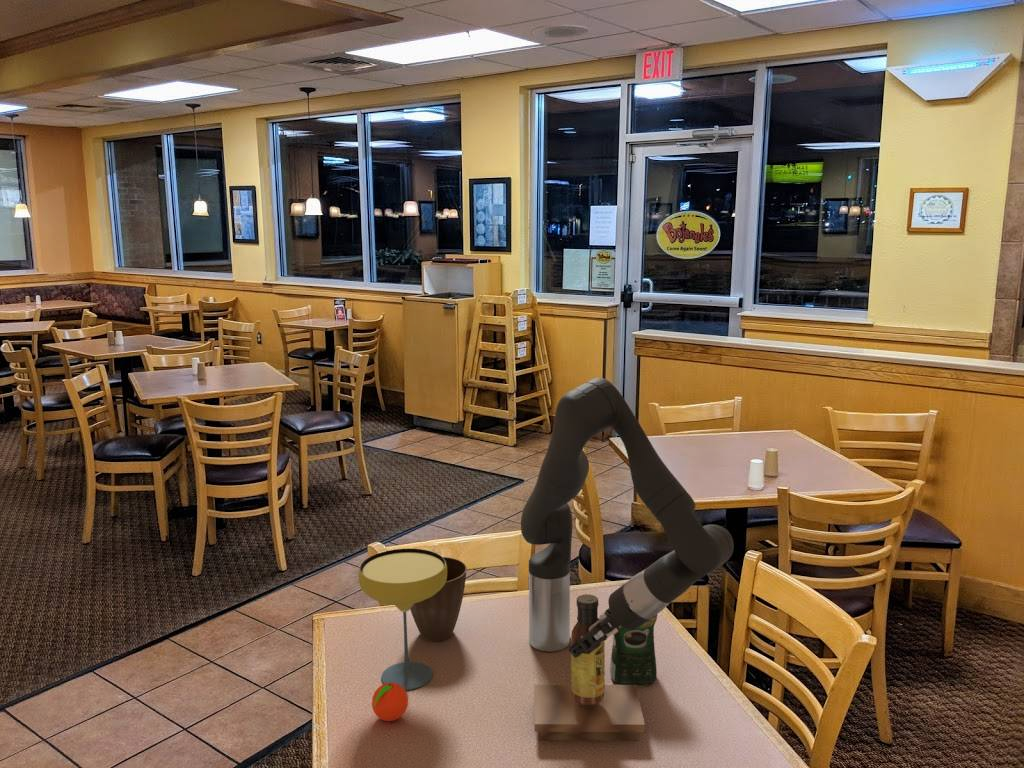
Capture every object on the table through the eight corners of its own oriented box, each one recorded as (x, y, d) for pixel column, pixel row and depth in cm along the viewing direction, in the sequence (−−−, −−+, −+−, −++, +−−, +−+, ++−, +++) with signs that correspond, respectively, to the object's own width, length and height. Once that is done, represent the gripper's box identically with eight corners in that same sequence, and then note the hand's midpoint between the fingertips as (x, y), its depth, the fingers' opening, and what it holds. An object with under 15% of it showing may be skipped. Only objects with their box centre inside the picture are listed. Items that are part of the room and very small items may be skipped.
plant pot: (407, 653, 179) (404, 586, 176) (400, 622, 194) (398, 560, 191) (473, 645, 183) (472, 579, 180) (462, 615, 197) (460, 553, 194)
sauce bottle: (603, 709, 149) (602, 608, 145) (569, 705, 150) (568, 606, 146) (606, 689, 155) (606, 592, 151) (573, 686, 156) (572, 590, 153)
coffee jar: (653, 667, 173) (655, 586, 169) (658, 688, 165) (661, 603, 162) (607, 667, 173) (608, 586, 170) (611, 688, 165) (612, 603, 162)
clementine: (389, 736, 150) (387, 701, 149) (361, 724, 154) (359, 690, 153) (416, 714, 157) (415, 681, 156) (388, 703, 161) (387, 671, 159)
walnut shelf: (534, 743, 148) (534, 724, 147) (534, 702, 160) (534, 684, 160) (644, 744, 147) (644, 724, 146) (635, 703, 160) (635, 684, 159)
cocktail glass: (379, 710, 159) (374, 591, 154) (352, 667, 174) (347, 558, 170) (463, 685, 167) (461, 572, 162) (431, 646, 182) (427, 542, 178)
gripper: (640, 567, 151) (582, 612, 159) (611, 597, 138) (549, 645, 146) (667, 599, 149) (607, 644, 157) (640, 633, 137) (576, 679, 145)
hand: (579, 644), depth 152 cm, fingers closed on sauce bottle, 6 cm apart
